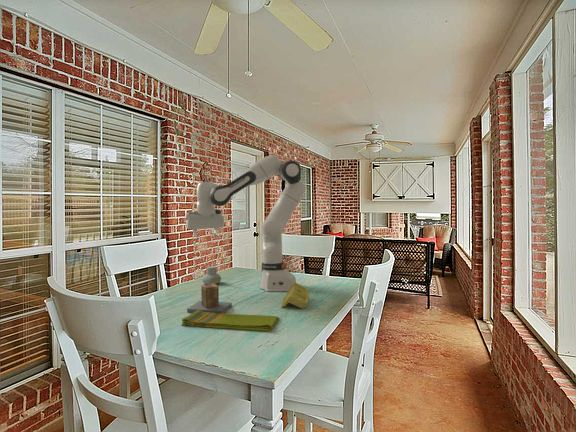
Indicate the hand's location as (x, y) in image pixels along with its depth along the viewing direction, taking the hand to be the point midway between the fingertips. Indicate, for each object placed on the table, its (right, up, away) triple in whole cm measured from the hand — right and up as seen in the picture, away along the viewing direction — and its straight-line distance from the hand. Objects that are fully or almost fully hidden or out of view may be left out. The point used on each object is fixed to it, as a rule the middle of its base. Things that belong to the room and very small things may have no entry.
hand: (205, 236), depth 181 cm
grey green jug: (0, -29, +16) cm, 33 cm away
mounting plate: (+9, -30, -31) cm, 44 cm away
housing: (+10, -29, -31) cm, 43 cm away
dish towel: (+22, -32, -47) cm, 61 cm away
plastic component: (+49, -30, -22) cm, 61 cm away
